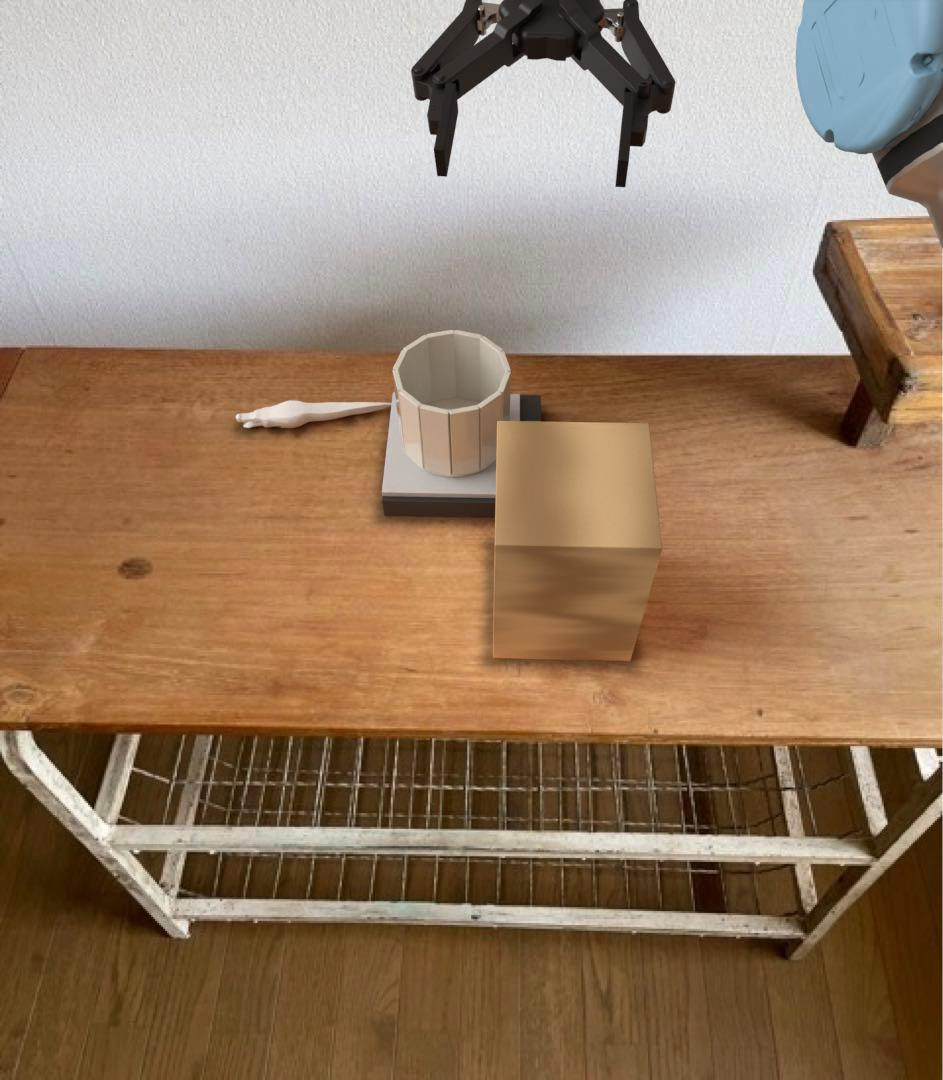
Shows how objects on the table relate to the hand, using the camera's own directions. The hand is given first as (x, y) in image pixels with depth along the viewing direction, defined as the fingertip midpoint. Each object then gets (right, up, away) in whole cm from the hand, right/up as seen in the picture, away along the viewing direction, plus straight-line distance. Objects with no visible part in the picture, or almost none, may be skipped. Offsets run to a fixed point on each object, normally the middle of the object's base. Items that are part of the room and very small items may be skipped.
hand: (530, 169), depth 68 cm
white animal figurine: (-19, -16, +20) cm, 32 cm away
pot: (-6, -18, +15) cm, 24 cm away
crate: (+3, -33, +8) cm, 34 cm away
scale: (-6, -20, +17) cm, 27 cm away
